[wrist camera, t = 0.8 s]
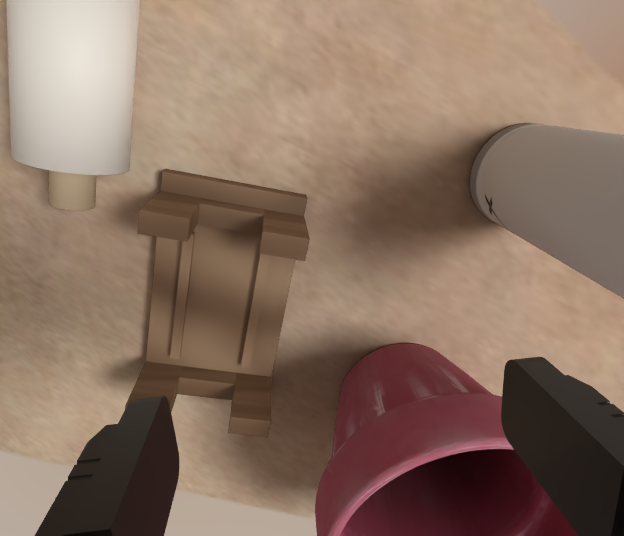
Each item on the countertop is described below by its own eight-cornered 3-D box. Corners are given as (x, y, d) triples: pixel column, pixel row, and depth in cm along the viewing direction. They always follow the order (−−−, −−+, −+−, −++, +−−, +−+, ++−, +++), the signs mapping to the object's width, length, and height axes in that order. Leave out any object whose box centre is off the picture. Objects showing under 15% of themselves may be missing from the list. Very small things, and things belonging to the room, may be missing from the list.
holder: (166, 169, 26) (140, 187, 21) (306, 194, 28) (313, 218, 23) (147, 381, 32) (123, 437, 26) (266, 395, 33) (264, 451, 28)
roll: (52, -88, 22) (-32, -146, 17) (162, -63, 22) (110, -113, 17) (52, 185, 27) (-14, 204, 22) (142, 204, 27) (97, 227, 22)
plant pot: (463, 277, 31) (583, 396, 19) (510, 425, 36) (628, 591, 24) (272, 357, 32) (272, 516, 20) (345, 489, 37) (379, 678, 25)
